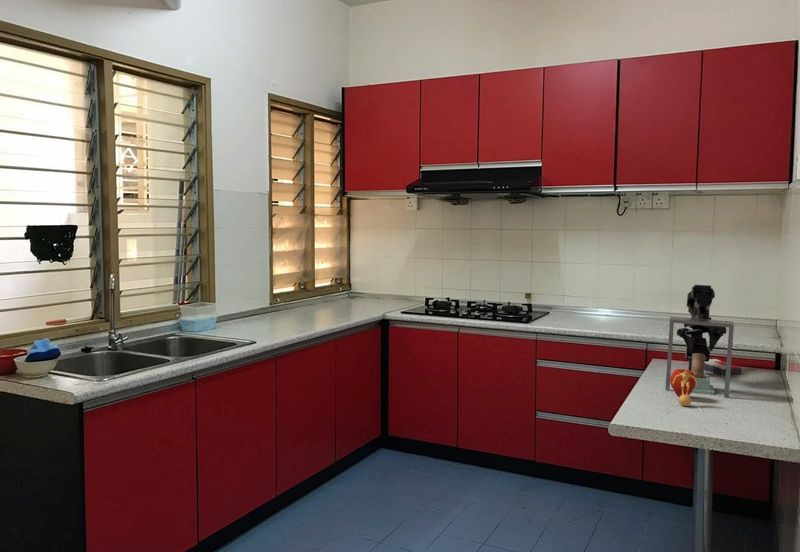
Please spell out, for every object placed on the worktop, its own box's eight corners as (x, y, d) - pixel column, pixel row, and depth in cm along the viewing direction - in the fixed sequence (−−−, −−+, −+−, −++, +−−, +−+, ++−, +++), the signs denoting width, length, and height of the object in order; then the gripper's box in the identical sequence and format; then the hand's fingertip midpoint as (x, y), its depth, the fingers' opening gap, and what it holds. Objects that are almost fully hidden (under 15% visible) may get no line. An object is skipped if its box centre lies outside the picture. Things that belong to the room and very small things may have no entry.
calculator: (722, 368, 269) (695, 358, 283) (720, 377, 269) (694, 368, 284) (742, 366, 272) (715, 357, 286) (741, 376, 273) (714, 367, 287)
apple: (667, 398, 230) (669, 369, 229) (670, 393, 237) (671, 365, 237) (694, 402, 226) (696, 372, 225) (695, 397, 234) (697, 368, 233)
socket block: (679, 383, 253) (680, 371, 253) (712, 387, 248) (713, 374, 248) (678, 390, 242) (679, 377, 242) (714, 394, 237) (715, 381, 237)
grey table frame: (666, 385, 250) (670, 316, 247) (727, 392, 241) (732, 321, 239) (665, 390, 242) (669, 319, 240) (728, 398, 233) (733, 324, 231)
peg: (693, 384, 248) (696, 352, 247) (705, 386, 245) (707, 354, 244) (687, 385, 246) (690, 353, 245) (699, 388, 242) (701, 356, 241)
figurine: (672, 406, 221) (674, 372, 220) (670, 401, 226) (672, 368, 225) (698, 408, 218) (700, 374, 217) (696, 404, 224) (698, 370, 223)
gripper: (668, 312, 263) (666, 349, 258) (709, 305, 247) (708, 344, 242) (686, 319, 267) (685, 355, 263) (727, 313, 252) (727, 351, 247)
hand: (700, 351), depth 253 cm, fingers open, 9 cm apart
